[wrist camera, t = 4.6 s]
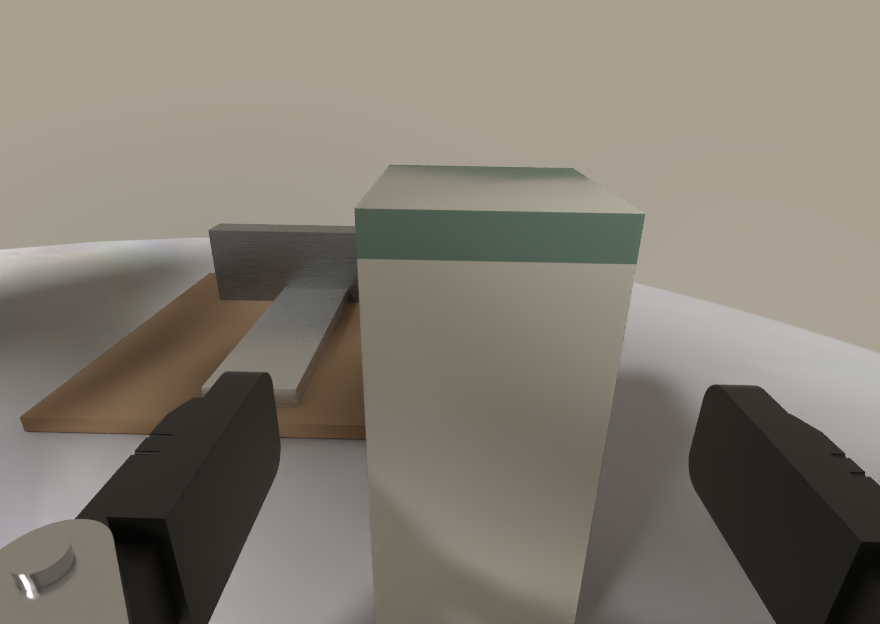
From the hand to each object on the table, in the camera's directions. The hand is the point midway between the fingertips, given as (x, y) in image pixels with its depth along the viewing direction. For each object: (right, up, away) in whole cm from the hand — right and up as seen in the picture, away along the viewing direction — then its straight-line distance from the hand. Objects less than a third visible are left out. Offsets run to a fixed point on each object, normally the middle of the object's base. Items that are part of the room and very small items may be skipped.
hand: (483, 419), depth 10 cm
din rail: (-8, +1, +16) cm, 18 cm away
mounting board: (-8, +1, +16) cm, 18 cm away
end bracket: (-8, +2, +20) cm, 22 cm away
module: (0, -5, +4) cm, 6 cm away
